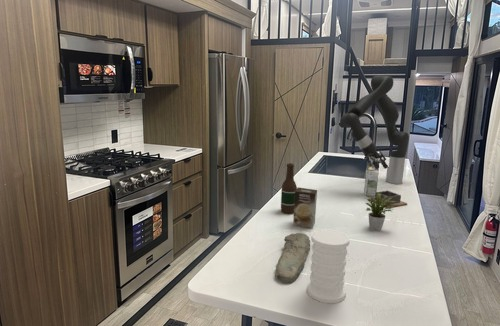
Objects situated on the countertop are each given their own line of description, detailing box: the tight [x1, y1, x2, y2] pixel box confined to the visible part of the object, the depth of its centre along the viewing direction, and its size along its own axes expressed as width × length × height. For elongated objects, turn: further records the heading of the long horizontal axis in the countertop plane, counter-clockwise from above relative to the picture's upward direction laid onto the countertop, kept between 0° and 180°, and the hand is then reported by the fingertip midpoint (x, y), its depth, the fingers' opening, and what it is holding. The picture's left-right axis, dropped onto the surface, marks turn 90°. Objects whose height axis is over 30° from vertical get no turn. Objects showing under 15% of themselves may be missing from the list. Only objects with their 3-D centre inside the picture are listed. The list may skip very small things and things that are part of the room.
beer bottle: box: [280, 162, 298, 215], centre depth 172 cm, size 8×8×24 cm
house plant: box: [364, 191, 398, 232], centre depth 154 cm, size 14×14×16 cm
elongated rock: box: [275, 232, 311, 285], centre depth 128 cm, size 35×5×10 cm
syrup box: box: [363, 169, 379, 197], centre depth 202 cm, size 6×6×14 cm
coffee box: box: [292, 186, 318, 229], centre depth 157 cm, size 9×6×16 cm
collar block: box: [369, 190, 408, 209], centre depth 191 cm, size 14×14×6 cm
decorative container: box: [306, 228, 350, 304], centre depth 106 cm, size 12×12×18 cm
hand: (382, 167), depth 198 cm, fingers open, 8 cm apart
